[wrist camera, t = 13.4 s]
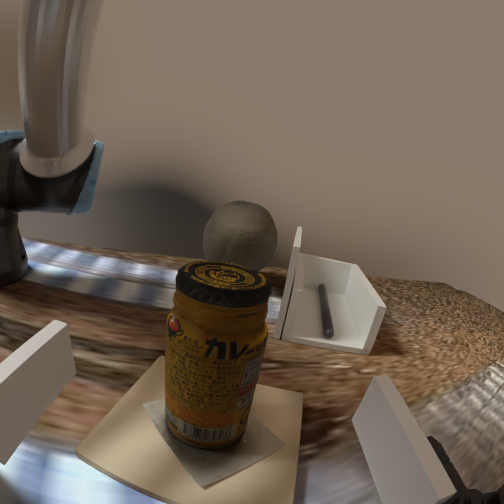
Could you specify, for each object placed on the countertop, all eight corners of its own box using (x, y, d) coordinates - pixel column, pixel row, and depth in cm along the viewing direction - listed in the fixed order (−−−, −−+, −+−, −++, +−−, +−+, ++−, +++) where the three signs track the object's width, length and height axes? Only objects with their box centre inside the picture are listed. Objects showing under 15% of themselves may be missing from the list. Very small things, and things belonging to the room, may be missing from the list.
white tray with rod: (273, 338, 34) (293, 246, 32) (285, 285, 55) (297, 226, 53) (369, 355, 32) (398, 268, 30) (348, 297, 54) (362, 240, 51)
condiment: (218, 384, 23) (238, 253, 20) (285, 445, 16) (337, 300, 14) (141, 405, 18) (138, 257, 15) (200, 489, 12) (217, 332, 9)
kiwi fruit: (182, 276, 50) (192, 194, 47) (222, 263, 63) (232, 197, 60) (249, 300, 45) (266, 208, 42) (280, 281, 57) (294, 209, 54)
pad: (77, 457, 12) (74, 450, 11) (160, 363, 25) (160, 355, 25) (284, 532, 10) (289, 527, 9) (300, 400, 23) (303, 392, 23)
